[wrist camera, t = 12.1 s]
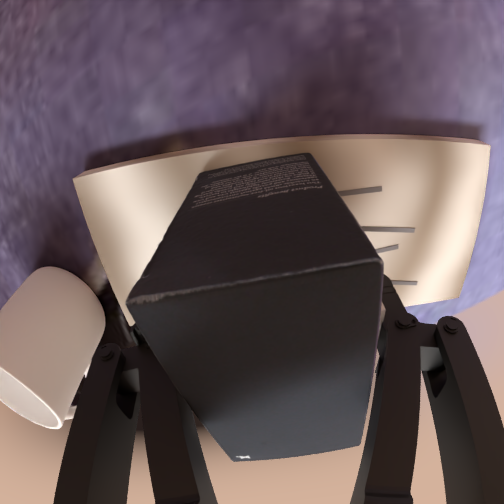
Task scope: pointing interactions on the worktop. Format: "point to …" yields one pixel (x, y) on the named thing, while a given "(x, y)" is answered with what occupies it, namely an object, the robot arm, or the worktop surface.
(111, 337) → the worktop surface
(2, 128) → the worktop surface
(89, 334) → the mug
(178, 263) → the small box
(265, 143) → the board
